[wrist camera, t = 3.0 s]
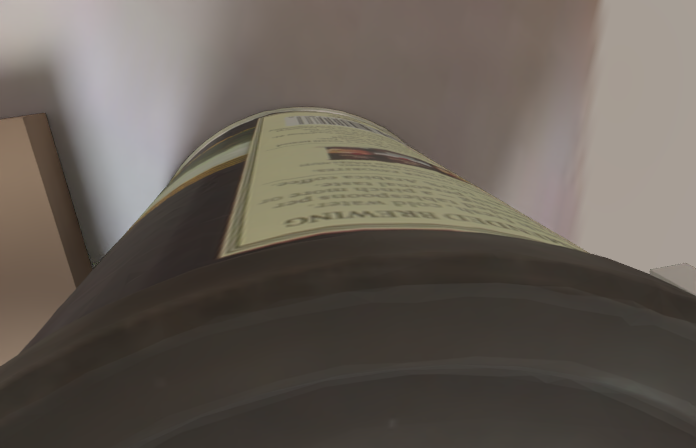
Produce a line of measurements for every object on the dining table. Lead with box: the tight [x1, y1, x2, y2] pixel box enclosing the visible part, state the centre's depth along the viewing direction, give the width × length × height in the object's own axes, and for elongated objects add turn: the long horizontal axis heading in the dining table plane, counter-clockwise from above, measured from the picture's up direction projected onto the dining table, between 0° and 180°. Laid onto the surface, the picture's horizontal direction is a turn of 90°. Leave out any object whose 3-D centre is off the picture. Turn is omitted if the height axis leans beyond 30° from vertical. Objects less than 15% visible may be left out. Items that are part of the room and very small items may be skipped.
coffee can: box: [0, 107, 696, 448], centre depth 11 cm, size 10×10×14 cm
